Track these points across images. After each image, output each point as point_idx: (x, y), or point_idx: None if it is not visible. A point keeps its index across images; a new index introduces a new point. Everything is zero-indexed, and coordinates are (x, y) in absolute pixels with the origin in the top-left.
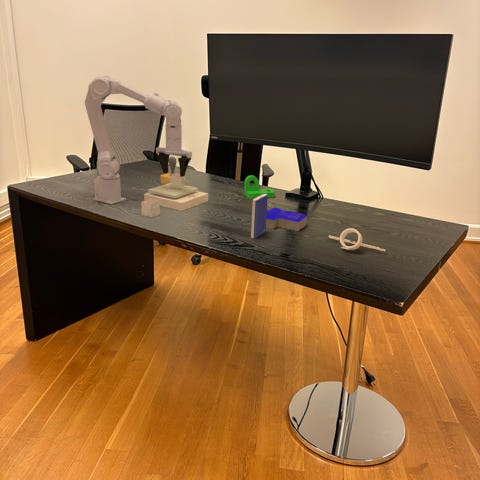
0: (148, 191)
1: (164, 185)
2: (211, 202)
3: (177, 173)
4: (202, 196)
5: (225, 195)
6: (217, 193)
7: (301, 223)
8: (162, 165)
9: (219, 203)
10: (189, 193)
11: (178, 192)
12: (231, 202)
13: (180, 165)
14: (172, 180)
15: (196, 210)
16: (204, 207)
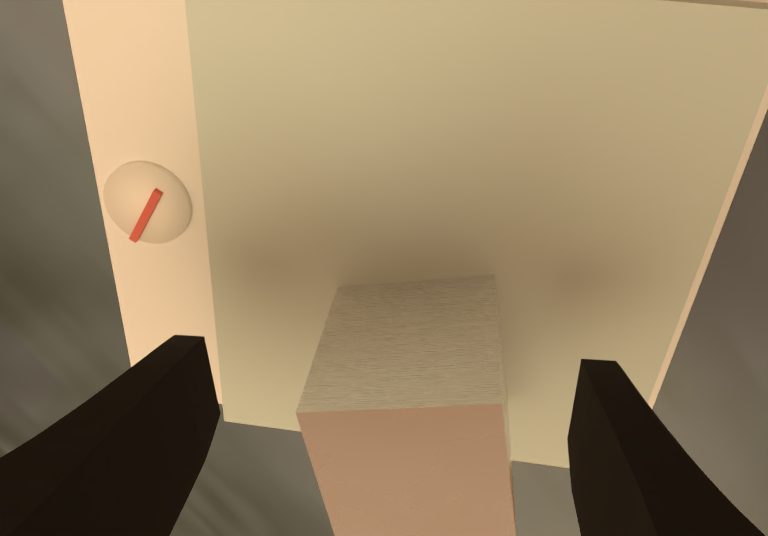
0: (764, 5)
1: (640, 333)
2: (121, 325)
3: (460, 520)
4: (124, 304)
5: (181, 512)
6: (263, 529)
7: None
8: (659, 480)
9: (52, 332)
10: None
11: (263, 146)
12: (11, 395)
13: (20, 485)
14: (459, 345)
15: (17, 25)
16: (46, 164)
